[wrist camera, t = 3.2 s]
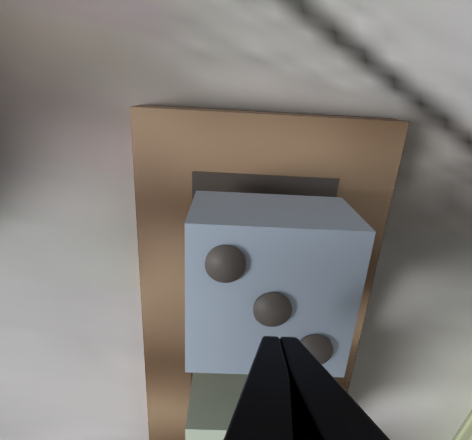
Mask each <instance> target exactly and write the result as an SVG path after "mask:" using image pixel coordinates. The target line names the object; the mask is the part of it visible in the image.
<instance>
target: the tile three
mask: <svg viewBox="0 0 472 440" xmlns="http://www.w3.org/2000/svg"><path fill="white" fill-rule="evenodd" d="M375 234H376V231H375V230H374V229H373V228H372V227H371V226H370V225H369V224H368V223H367V222H366V221H365V220H364V219H363V218H362V217H361V216H360V215H359V214H358V213H357V212H356V211H355V210H354V209H353V208H352V207H351V206H350V205H349V204H348V203H347V202H346V201H345V200H344V199H343V198H342V197H322V196H301V195H280V194H259V193H238V192H217V191H196V192H195V195H194V198H193V201H192V204H191V207H190V210H189V212H188V215H187V218H186V221H185V372H190V373H221V374H248V373H249V371H250V368H251V365H252V363H253V360H254V357H255V355H256V352H257V350H258V347H259V344H260V342H261V339H262V337H263V336H277V337H279V339H280V338H281V337H296V338H298V339H299V340H300V341H301V342H302V343H303V345H304V346H305V347H306V348H307V349H308V350H309V351H310V352H311V353H312V354H313V356H314V357H315V358H316V359H317V360H318V361H319V362H320V363H321V364H322V366H323V367H324V368H325V369H326V370H327V371H328V372H329V373H330V374H331V375H332V377H344V376H345V371H346V366H347V362H348V357H349V353H350V348H351V344H352V339H353V334H354V330H355V325H356V321H357V316H358V312H359V307H360V303H361V298H362V293H363V289H364V284H365V280H366V275H367V271H368V266H369V261H370V257H371V252H372V248H373V243H374V239H375Z"/></svg>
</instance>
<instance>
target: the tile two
mask: <svg viewBox="0 0 472 440" xmlns="http://www.w3.org/2000/svg"><path fill="white" fill-rule="evenodd" d="M247 376H248V374H221V373H193V377H192V384H191V391H190V398H189V405H188V413H187V420H186V427H185V440H223V439H224V437H225V434H226V432H227V429H228V426H229V424H230V421H231V418H232V416H233V413H234V410H235V408H236V405H237V402H238V400H239V397H240V394H241V392H242V389H243V387H244V384H245V381H246V379H247Z"/></svg>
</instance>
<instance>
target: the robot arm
mask: <svg viewBox="0 0 472 440" xmlns="http://www.w3.org/2000/svg"><path fill="white" fill-rule="evenodd" d="M223 440H390V439H389V438H388V437H387V436H386V435H385V434H384V433H383V432H382V430H381V429H380V428H379V427H378V426H377V425H376V424H375V423H374V422H373V421H372V419H371V418H370V417H369V416H368V415H367V414H366V413H365V412H364V411H363V410H362V408H361V407H360V406H359V405H358V404H357V403H356V402H355V401H354V400H353V399H352V397H351V396H350V395H349V394H348V393H347V392H346V391H345V390H344V389H343V388H342V386H341V385H340V384H339V383H338V382H337V381H336V380H335V379H334V378H333V377H332V375H331V374H330V373H329V372H328V371H327V370H326V369H325V368H324V367H323V366H322V364H321V363H320V362H319V361H318V360H317V359H316V358H315V357H314V356H313V354H312V353H311V352H310V351H309V350H308V349H307V348H306V347H305V346H304V345H303V343H302V342H301V341H300V340H299V339H298V338H296V337H281V338H280V339H279V337H277V336H263V337H262V339H261V342H260V344H259V347H258V350H257V352H256V355H255V357H254V360H253V363H252V365H251V368H250V371H249V373H248V376H247V379H246V381H245V384H244V387H243V389H242V392H241V394H240V397H239V400H238V402H237V405H236V408H235V410H234V413H233V416H232V418H231V421H230V424H229V426H228V429H227V432H226V434H225V437H224V439H223Z"/></svg>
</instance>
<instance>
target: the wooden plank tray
mask: <svg viewBox="0 0 472 440" xmlns="http://www.w3.org/2000/svg"><path fill="white" fill-rule="evenodd" d="M130 115H131V132H132V149H133V167H134V184H135V201H136V218H137V236H138V253H139V270H140V287H141V305H142V322H143V339H144V356H145V374H146V391H147V408H148V426H149V440H185V427H186V420H187V413H188V405H189V398H190V391H191V384H192V377H193V373H190V372H185V221H186V218H187V215H188V212H189V210H190V207H191V204H192V201H193V198H194V195H195V192H196V191H217V192H238V193H259V194H280V195H301V196H322V197H342V198H343V199H344V200H345V201H346V202H347V203H348V204H349V205H350V206H351V207H352V208H353V209H354V210H355V211H356V212H357V213H358V214H359V215H360V216H361V217H362V218H363V219H364V220H365V221H366V222H367V223H368V224H369V225H370V226H371V227H372V228H373V229H374V230H375V231H376V234H375V239H374V243H373V248H372V252H371V257H370V261H369V266H368V271H367V275H366V280H365V284H364V289H363V293H362V298H361V303H360V307H359V312H358V316H357V321H356V325H355V330H354V334H353V339H352V344H351V348H350V353H349V357H348V362H347V366H346V371H345V376H344V377H333V378H334V379H335V380H336V381H337V382H338V383H339V384H340V385H341V386H342V388H343V389H344V390H345V391H346V392H348V388H349V384H350V379H351V375H352V371H353V366H354V362H355V357H356V353H357V349H358V344H359V340H360V336H361V331H362V327H363V322H364V318H365V314H366V309H367V305H368V301H369V296H370V292H371V287H372V283H373V279H374V274H375V270H376V266H377V261H378V257H379V252H380V248H381V244H382V239H383V235H384V231H385V226H386V222H387V217H388V213H389V209H390V204H391V200H392V196H393V191H394V187H395V183H396V178H397V174H398V169H399V165H400V161H401V156H402V152H403V148H404V143H405V139H406V134H407V130H408V126H409V122H407V121H402V120H397V119H392V118H375V117H356V116H338V115H319V114H301V113H282V112H264V111H245V110H227V109H208V108H190V107H171V106H153V105H137V106H132V107H130Z"/></svg>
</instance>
